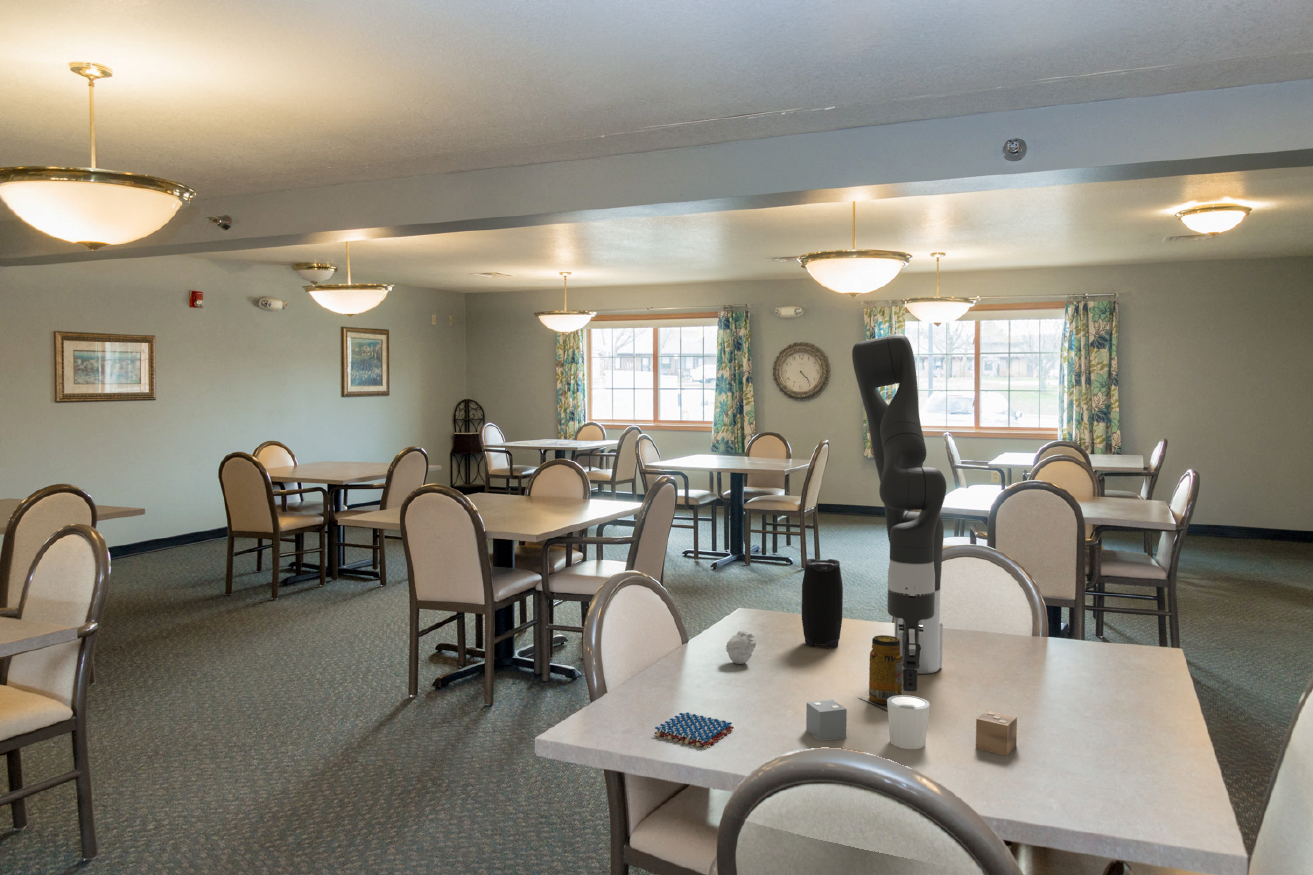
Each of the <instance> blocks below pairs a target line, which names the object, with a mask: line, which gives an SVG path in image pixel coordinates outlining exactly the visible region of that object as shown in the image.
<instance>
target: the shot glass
mask: <svg viewBox="0 0 1313 875" xmlns="http://www.w3.org/2000/svg"><path fill="white" fill-rule="evenodd" d="M887 705H888V710H887V716H888V717H887V718H888V727H889V728H888V729H889V740H890V744H891V745H893V746H895V747H898V748H901V749H905V750H919V749H921V748H924V747H926V742H927V741H926V740H927V731H928V723H929V714H930V706H931V705H930V702H929V700H926V699H924V698H921V697H918V696H913V695H905V694H904V695H903V694H902V695H899V696H893V697H890V698H888V699H887Z"/></svg>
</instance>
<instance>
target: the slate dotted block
mask: <svg viewBox="0 0 1313 875" xmlns="http://www.w3.org/2000/svg"><path fill="white" fill-rule="evenodd" d="M847 713H848V709H847V708H846V707H845V706H843V705H842V704H840V703H838V701H836V700H834V699H826V700H816V701H807V702H806V722H805V723H806V724H805V727H806V728H805V731H806V732H808V733H809V734H810V733H811V736H813V737H814V738H815V739H817V740H818V741H819V742H821V741H831V740H839V739H846V738H847V725H848V724H847V721H848V720H847V719H848V718H847V715H848V714H847Z"/></svg>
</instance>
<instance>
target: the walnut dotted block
mask: <svg viewBox="0 0 1313 875" xmlns="http://www.w3.org/2000/svg"><path fill="white" fill-rule="evenodd" d="M975 719H976V721H975V722H976V724H975V749H978V750H981V751H986V752H989V753H990V752H991V753H993V752H994V754H997V753H998V755H1001V754H1002V756H1007V757H1008V756H1009V755H1010V753H1011V752H1013V751H1014V749H1015V748H1016V747H1017V743H1018V742H1017V739H1018V738H1017V734H1018V728H1017V727H1018V716H1014V715H1010V714H1006V713H999V712H995V711H990V710H985V711H984V712H982V713H981V715H979V716H978V717H977V718H975Z"/></svg>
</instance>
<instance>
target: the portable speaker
mask: <svg viewBox="0 0 1313 875" xmlns="http://www.w3.org/2000/svg"><path fill="white" fill-rule="evenodd" d="M840 564H841V563H840V560H837V559H832V558H829V559H826V560H825V559H816V558H807V559H806V560H805V566H804V573H803V577H802V584H801V623H802V632H803V637H804V643H805V644H804V645H805V646H807V647H809V648H814V646H815V645H818V646H825V647H826V648H827V649H834V647H835V648H837V647H838V646H839V641H840V637H841V629H842V624H843V607H844V606H843V605H844V604H843V603H844V602H843V601H844V600H843V599H844V598H843V597H844V596H843V595H844V587H843V586H844V585H843V578H842V572H841V565H840Z"/></svg>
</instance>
